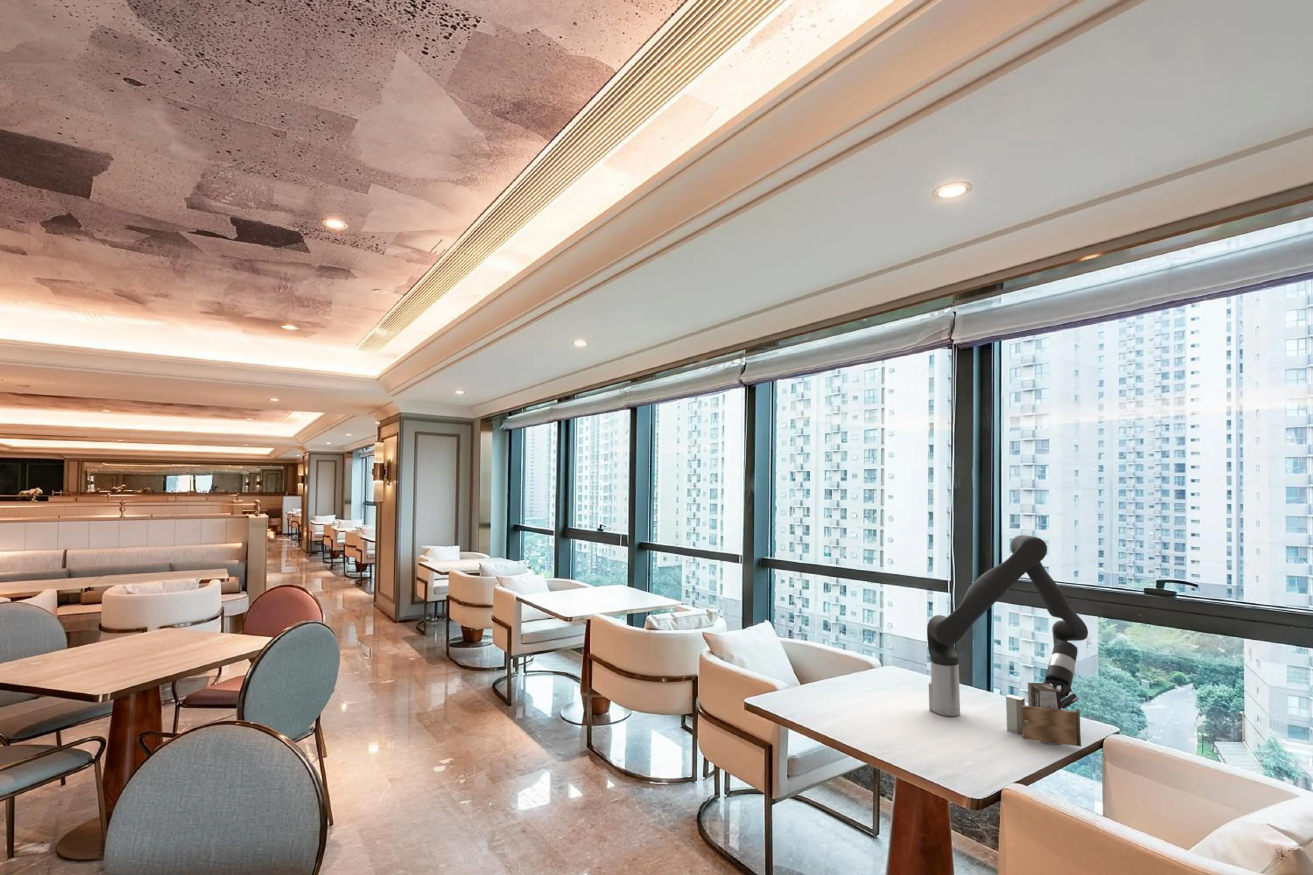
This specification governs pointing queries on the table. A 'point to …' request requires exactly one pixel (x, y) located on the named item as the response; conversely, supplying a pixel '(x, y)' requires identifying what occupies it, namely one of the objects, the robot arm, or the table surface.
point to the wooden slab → (1051, 725)
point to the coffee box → (1043, 697)
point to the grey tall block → (1014, 713)
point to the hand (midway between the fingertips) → (1050, 716)
